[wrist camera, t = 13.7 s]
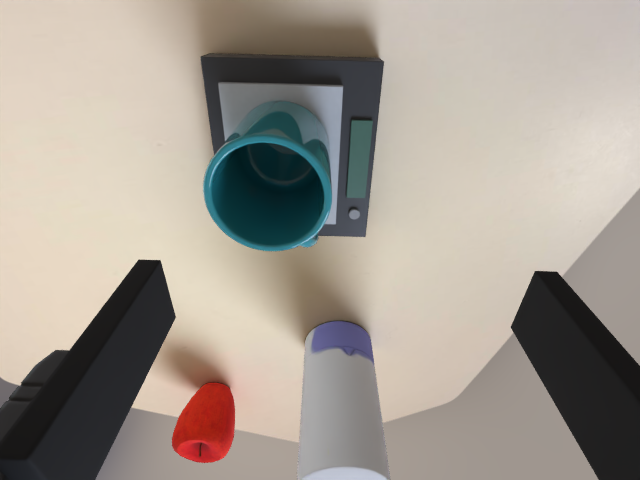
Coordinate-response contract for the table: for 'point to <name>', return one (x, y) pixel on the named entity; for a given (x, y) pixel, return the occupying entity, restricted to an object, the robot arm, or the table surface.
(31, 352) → the table surface
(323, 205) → the cup
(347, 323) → the container
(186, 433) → the apple
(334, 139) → the scale
